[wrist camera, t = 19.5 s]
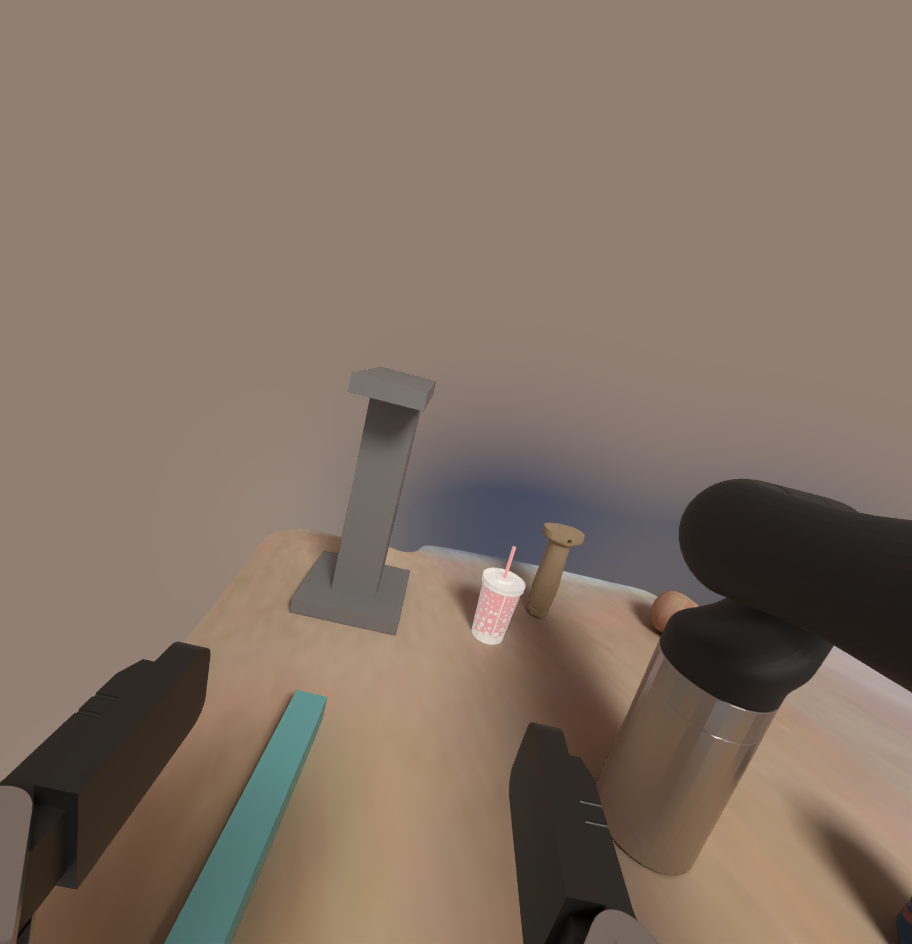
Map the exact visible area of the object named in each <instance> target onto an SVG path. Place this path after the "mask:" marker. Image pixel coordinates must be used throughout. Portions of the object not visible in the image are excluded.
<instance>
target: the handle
mask: <svg viewBox="0 0 912 944" xmlns="http://www.w3.org/2000/svg"><path fill="white" fill-rule="evenodd" d="M542 532H543V534H544V535H545V537H546V538H548V539H549V542H548V546H547V548H546V551H545V553H544V556H543V559H542V561H541V563H540V566H539V568H538V571H537V573H536V575H535V578H534V581H533V584H532V588H531V592H530V597H529V602H528V605H527V610H528V611H529V613H530V614H531V615H534V616H536V617H538V618H541V617H542V616H546V614H547V613H548V610H549V607H550V606H551V604H552V602H553V600H554V597H555V595H556V593H557V590H558V586H559V584H560V580H561V576H562V573H563V569H564V565H565V562H566V558H567V555H568V552H569V550H570V548H571V547H572V546H576V545H580V544H582V542H583V540H584V537H585V536H584V534H583V533H582V532H580V531H579V530H577V529H575V528H572V527H569V526H566V525H562V524H557V523H545V524H544V527H543V531H542Z"/></svg>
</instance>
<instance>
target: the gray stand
mask: <svg viewBox="0 0 912 944" xmlns="http://www.w3.org/2000/svg"><path fill="white" fill-rule="evenodd" d="M435 384H436V381H433V380H429V379H425V378H421V377H418V376H414V375H410V374H406V373H402V372H398V371H394V370H391V369H387V368H383V367H378V368H373V369H368V370H363V371H358V372H353V373H351V378H350V383H349V388H348V392H350V393H354V394H358V395H362V396H366V397H370V400H369V406H368V410H367V416H366V420H365V425H364V430H363V435H362V440H361V445H360V451H359V455H358V460H357V465H356V470H355V475H354V480H353V485H352V489H351V494H350V499H349V505H348V509H347V514H346V519H345V525H344V529H343V534H342V539H341V544H340V549H339V554H336V553H332V552H327V551H323V553H322V554H321V556H320V557H319V559H318V560H317V562H316V563H315V565H314V566H313V568H312V569H311V571H310V572H309V574H308V575H307V577H306V578H305V580H304V581H303V583H302V584H301V586H300V587H299V589H298V590H297V591H296V593H295V594H294V596H293V597H292V600H291V605H290V611H289V612H292V613H296V614H301V615H305V616H310V617H314V618H319V619H323V620H328V621H332V622H337V623H341V624H346V625H350V626H355V627H359V628H364V629H368V630H373V631H377V632H382V633H386V634H391V635H396V632H397V628H398V624H399V620H400V615H401V610H402V606H403V601H404V597H405V592H406V587H407V583H408V578H409V573H410V570H405V569H401V568H397V567H392V566H388V565H385V560H386V556H387V552H388V548H389V543H390V539H391V535H392V531H393V526H394V522H395V518H396V513H397V509H398V505H399V500H400V496H401V492H402V488H403V484H404V479H405V475H406V471H407V466H408V462H409V457H410V453H411V449H412V445H413V441H414V437H415V432H416V428H417V423H418V420H419V415H420V411H424V410H425V408H426V406H427V404H428V403H429V401H430V399H431V397H432V396H433V392H434V388H435Z"/></svg>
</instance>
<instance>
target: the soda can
mask: <svg viewBox="0 0 912 944" xmlns="http://www.w3.org/2000/svg"><path fill="white" fill-rule="evenodd" d="M896 923H897V932H898V937H899V942H900V944H912V897H911V899H910V900H909V901H908V903H907V904H906V905H905V907H904V908H903V909H902V911H901V912H900V913H899V915H898V917H897V921H896Z"/></svg>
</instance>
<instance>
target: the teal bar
mask: <svg viewBox="0 0 912 944" xmlns="http://www.w3.org/2000/svg"><path fill="white" fill-rule="evenodd" d="M326 701H327V697H324V696H320V695H316V694H312V693H307V692H303V691H299V690H296V692H295V694H294V696H293V698H292V700H291V702H290V704H289V705H288V707H287V709H286V711H285V713H284V715H283V717H282V719H281V721H280V723H279V725H278V727H277V728H276V730H275V732H274V734H273V736H272V738H271V740H270V742H269V744H268V746H267V748H266V750H265V751H264V753H263V755H262V757H261V759H260V761H259V763H258V765H257V767H256V769H255V771H254V772H253V774H252V776H251V778H250V780H249V782H248V784H247V786H246V788H245V790H244V792H243V794H242V795H241V797H240V799H239V801H238V803H237V805H236V807H235V809H234V811H233V813H232V815H231V817H230V818H229V820H228V822H227V824H226V826H225V828H224V830H223V832H222V834H221V836H220V838H219V840H218V841H217V843H216V845H215V847H214V849H213V851H212V853H211V855H210V857H209V859H208V861H207V863H206V864H205V866H204V868H203V870H202V872H201V874H200V876H199V878H198V880H197V882H196V884H195V886H194V887H193V889H192V891H191V893H190V895H189V897H188V899H187V901H186V903H185V905H184V907H183V909H182V910H181V912H180V914H179V916H178V918H177V920H176V922H175V924H174V926H173V928H172V930H171V931H170V933H169V935H168V937H167V939H166V941H165V943H164V944H231V942H232V940H233V937H234V935H235V932H236V930H237V927H238V925H239V922H240V920H241V917H242V915H243V913H244V910H245V908H246V905H247V903H248V900H249V898H250V895H251V893H252V891H253V888H254V886H255V883H256V881H257V878H258V876H259V873H260V871H261V868H262V866H263V864H264V861H265V859H266V856H267V854H268V851H269V849H270V846H271V844H272V842H273V839H274V837H275V834H276V832H277V829H278V827H279V824H280V822H281V820H282V817H283V815H284V812H285V810H286V807H287V805H288V802H289V800H290V797H291V795H292V793H293V790H294V788H295V785H296V783H297V780H298V778H299V775H300V773H301V771H302V768H303V766H304V763H305V761H306V758H307V756H308V753H309V751H310V749H311V746H312V744H313V741H314V739H315V736H316V734H317V731H318V729H319V726H320V724H321V722H322V719H323V715H324V710H325V705H326Z"/></svg>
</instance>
